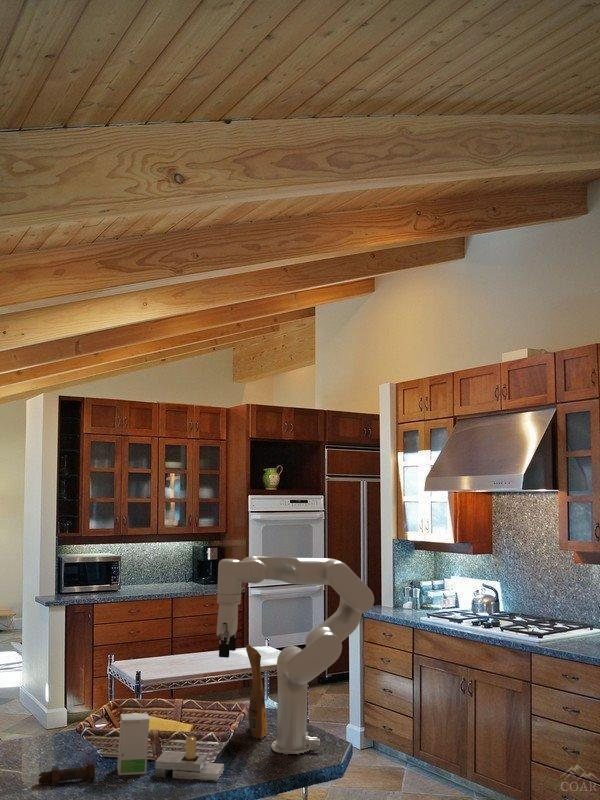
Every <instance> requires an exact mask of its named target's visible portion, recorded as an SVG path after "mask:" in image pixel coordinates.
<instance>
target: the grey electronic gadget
mask: <svg viewBox="0 0 600 800" xmlns="http://www.w3.org/2000/svg"><path fill="white" fill-rule="evenodd" d="M183 753H184V752H176V751H175V752H174V751H163V752H162V753H161V754H160V755H159V757H157V759H156V760H155V764H154V765H155V766H154V777H155V778H156V777H157V778H166V777H167V776H168V774H169V773H170V772H171V770H172V779H182V780H184V779H185V780H193V779H204V780H203V781H207V780H214V781H213V782H219V780H218V779H220V778H221V777H222V775H223V774H224V772H223V771H225V763H218V762H217V763H215V762H206V760H207V761H208V754H204V755H202V754H201V753H196V762H193V761H185V754H183ZM199 754H201V755H199ZM221 774H222V775H221ZM220 776H221V777H220ZM219 777H220V778H219Z"/></svg>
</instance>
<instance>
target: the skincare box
mask: <svg viewBox="0 0 600 800" xmlns="http://www.w3.org/2000/svg"><path fill="white" fill-rule="evenodd" d="M119 716H120V720H119V721H120V722H119V738H118V750H117V765H116V767H117V774H118V776H128V775H130V776H131V775H146V774H147V768H148V767H147V764H148V751H149V750H148V748H149V735H150V734H149V733H150V732H149V731H150V730H149V729H150V716H149V713H136V712H135V713H133V712H131V713H121V714H119Z"/></svg>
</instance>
